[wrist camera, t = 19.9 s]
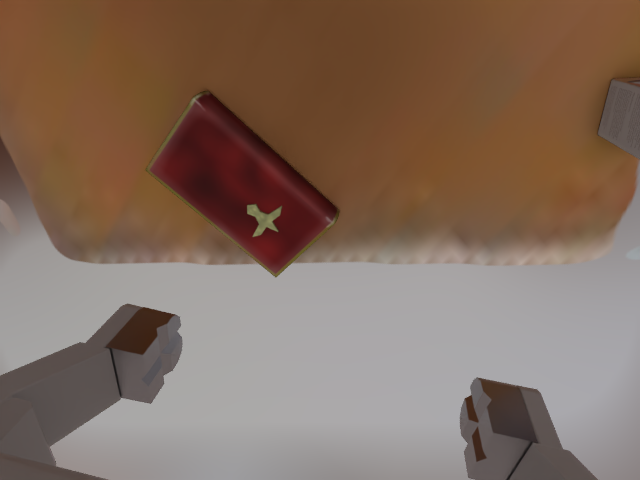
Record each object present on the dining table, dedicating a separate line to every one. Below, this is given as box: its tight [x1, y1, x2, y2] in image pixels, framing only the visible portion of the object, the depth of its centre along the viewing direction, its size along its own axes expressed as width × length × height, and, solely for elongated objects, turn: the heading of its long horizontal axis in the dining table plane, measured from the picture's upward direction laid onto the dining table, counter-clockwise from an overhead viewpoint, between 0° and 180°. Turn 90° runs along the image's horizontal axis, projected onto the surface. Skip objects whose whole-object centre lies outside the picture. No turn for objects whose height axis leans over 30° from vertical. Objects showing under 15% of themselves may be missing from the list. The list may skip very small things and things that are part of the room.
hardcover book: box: [146, 91, 339, 277], centre depth 48 cm, size 12×21×4 cm, turn 49°
